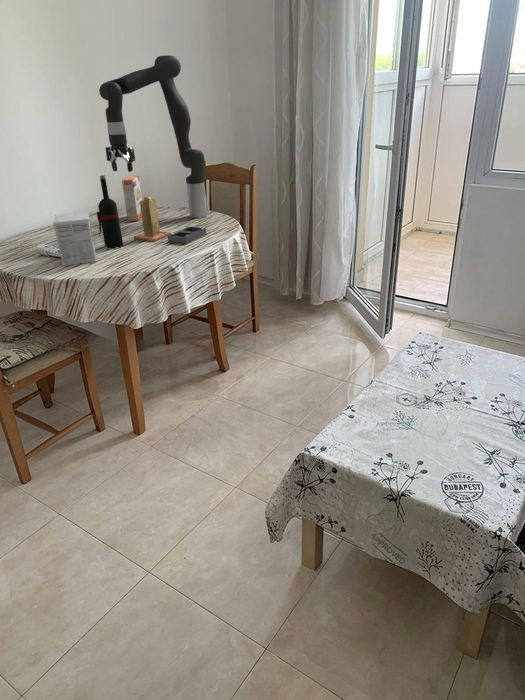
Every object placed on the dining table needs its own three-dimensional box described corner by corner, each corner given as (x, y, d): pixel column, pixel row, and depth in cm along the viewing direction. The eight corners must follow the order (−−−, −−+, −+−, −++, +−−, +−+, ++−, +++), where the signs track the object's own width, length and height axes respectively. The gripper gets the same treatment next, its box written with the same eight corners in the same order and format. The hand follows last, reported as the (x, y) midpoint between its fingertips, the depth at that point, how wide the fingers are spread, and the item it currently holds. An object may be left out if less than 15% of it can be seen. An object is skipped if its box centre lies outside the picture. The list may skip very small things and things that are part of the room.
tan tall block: (151, 233, 244) (146, 196, 236) (159, 234, 242) (155, 196, 234) (144, 236, 240) (139, 198, 232) (153, 237, 238) (148, 199, 230)
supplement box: (96, 262, 211) (88, 219, 202) (62, 266, 208) (52, 222, 199) (96, 253, 222) (88, 211, 214) (63, 256, 219) (54, 215, 211)
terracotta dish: (149, 232, 248) (149, 229, 248) (170, 234, 244) (170, 232, 243) (134, 239, 239) (133, 236, 238) (155, 241, 234) (155, 238, 234)
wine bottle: (104, 243, 235) (91, 174, 221) (125, 243, 233) (114, 173, 220) (97, 248, 228) (84, 177, 214) (119, 248, 227) (108, 177, 213)
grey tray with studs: (188, 232, 246) (188, 225, 244) (206, 234, 242) (205, 227, 241) (168, 242, 233) (167, 234, 231) (186, 244, 229) (185, 236, 227)
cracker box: (138, 221, 269) (132, 179, 260) (127, 221, 270) (120, 179, 260) (144, 215, 282) (139, 174, 272) (133, 215, 282) (127, 175, 272)
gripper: (135, 132, 230) (140, 170, 237) (109, 132, 236) (115, 169, 243) (124, 134, 224) (130, 173, 231) (98, 133, 230) (105, 172, 237)
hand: (122, 171), depth 237 cm, fingers open, 8 cm apart
